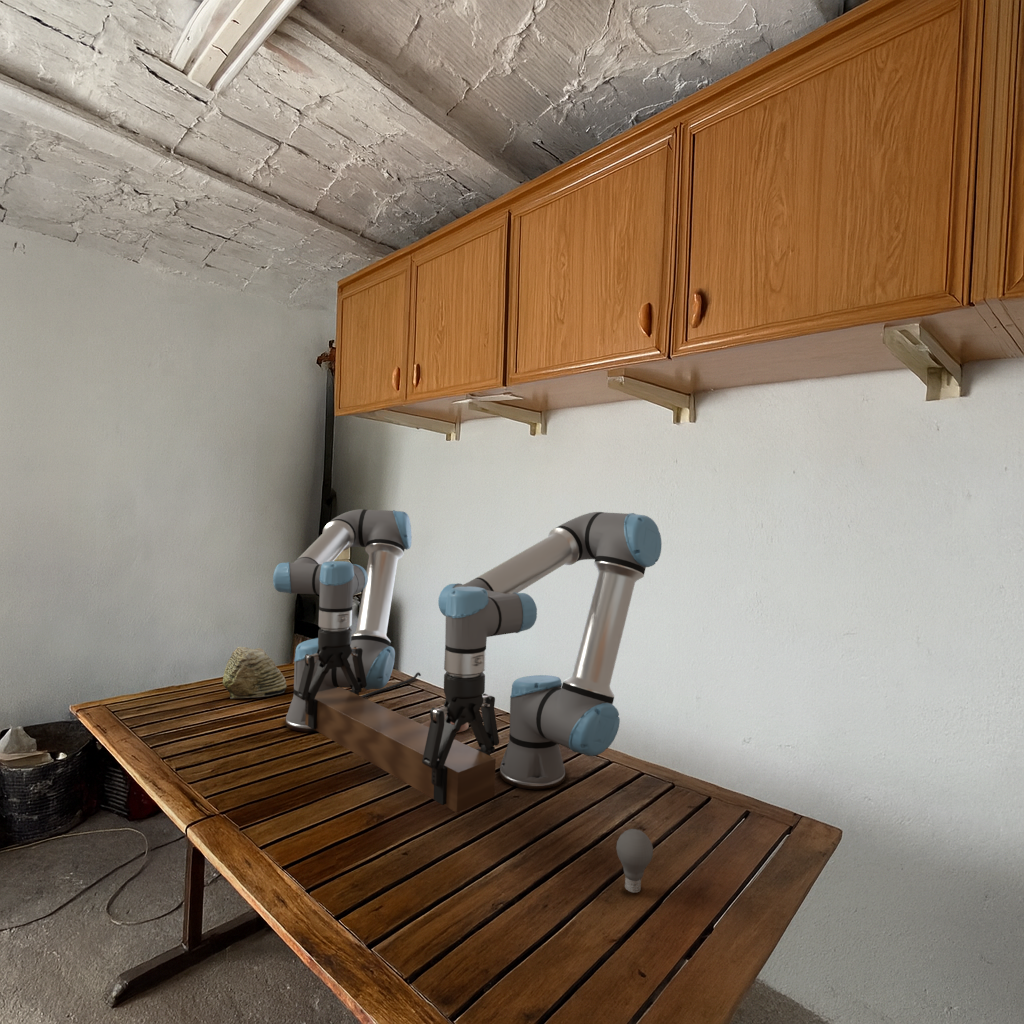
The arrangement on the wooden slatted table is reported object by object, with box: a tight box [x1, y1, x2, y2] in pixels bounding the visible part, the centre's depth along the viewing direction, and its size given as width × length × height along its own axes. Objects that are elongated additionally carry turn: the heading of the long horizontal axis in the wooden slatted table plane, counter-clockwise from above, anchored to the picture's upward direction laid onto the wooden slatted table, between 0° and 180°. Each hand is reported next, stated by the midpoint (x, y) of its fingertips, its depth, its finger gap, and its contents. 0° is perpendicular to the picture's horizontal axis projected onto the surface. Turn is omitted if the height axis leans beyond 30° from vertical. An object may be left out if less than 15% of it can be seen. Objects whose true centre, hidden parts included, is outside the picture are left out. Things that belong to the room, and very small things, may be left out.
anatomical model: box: [421, 714, 470, 733], centre depth 177 cm, size 13×4×12 cm
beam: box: [305, 687, 497, 813], centre depth 133 cm, size 55×9×7 cm, turn 46°
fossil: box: [222, 646, 288, 699], centre depth 198 cm, size 9×18×15 cm, turn 132°
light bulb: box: [615, 828, 654, 894], centre depth 106 cm, size 6×6×10 cm
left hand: (332, 722), depth 149 cm, fingers closed on beam, 9 cm apart
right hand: (460, 793), depth 117 cm, fingers closed on beam, 9 cm apart
